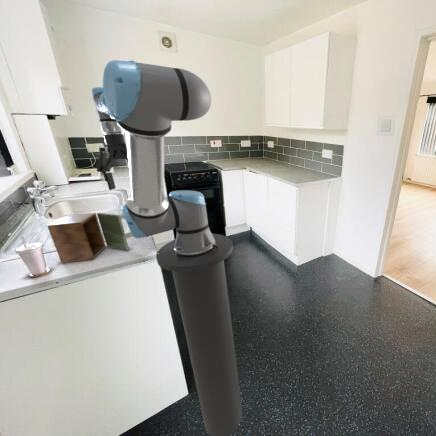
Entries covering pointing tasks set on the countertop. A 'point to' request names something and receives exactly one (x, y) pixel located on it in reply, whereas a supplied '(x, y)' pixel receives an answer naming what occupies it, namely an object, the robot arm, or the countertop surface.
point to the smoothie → (32, 256)
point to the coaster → (40, 274)
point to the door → (114, 230)
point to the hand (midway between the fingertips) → (128, 189)
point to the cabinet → (77, 237)
